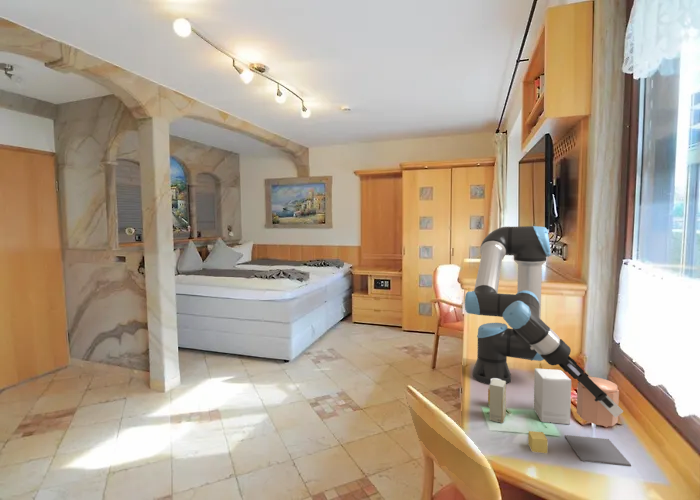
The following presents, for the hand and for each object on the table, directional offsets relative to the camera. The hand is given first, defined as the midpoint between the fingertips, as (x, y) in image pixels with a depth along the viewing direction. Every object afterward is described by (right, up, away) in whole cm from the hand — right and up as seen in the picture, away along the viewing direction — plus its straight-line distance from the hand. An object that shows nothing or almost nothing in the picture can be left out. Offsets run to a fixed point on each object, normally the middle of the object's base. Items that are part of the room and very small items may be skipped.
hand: (609, 405), depth 103 cm
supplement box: (-5, -13, +20) cm, 25 cm away
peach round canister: (-3, -4, +1) cm, 5 cm away
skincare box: (-24, -13, +20) cm, 34 cm away
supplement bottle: (-21, -13, +28) cm, 37 cm away
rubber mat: (-3, -14, +2) cm, 14 cm away
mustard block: (-19, -14, +3) cm, 24 cm away
